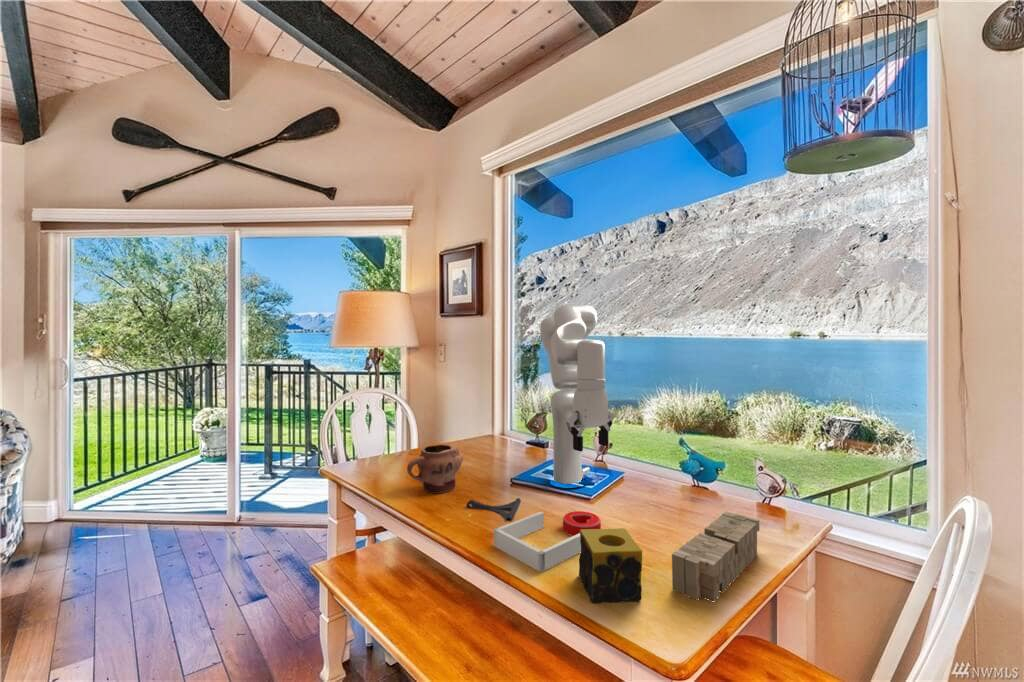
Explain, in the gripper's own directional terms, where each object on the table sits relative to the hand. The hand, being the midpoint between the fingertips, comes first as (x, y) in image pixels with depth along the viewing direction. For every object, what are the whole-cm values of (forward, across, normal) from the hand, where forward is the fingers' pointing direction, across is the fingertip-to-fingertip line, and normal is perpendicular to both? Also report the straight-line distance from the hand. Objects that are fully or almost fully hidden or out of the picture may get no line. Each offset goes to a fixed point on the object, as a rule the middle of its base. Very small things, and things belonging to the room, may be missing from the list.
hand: (590, 447), depth 123 cm
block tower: (+20, -4, +35) cm, 40 cm away
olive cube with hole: (+20, +21, +26) cm, 39 cm away
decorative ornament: (+20, +6, +3) cm, 21 cm away
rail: (+20, +21, +5) cm, 29 cm away
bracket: (+20, +18, -22) cm, 35 cm away
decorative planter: (+20, +25, -45) cm, 55 cm away
